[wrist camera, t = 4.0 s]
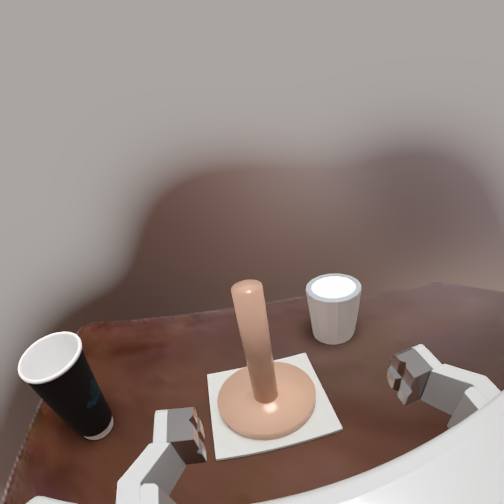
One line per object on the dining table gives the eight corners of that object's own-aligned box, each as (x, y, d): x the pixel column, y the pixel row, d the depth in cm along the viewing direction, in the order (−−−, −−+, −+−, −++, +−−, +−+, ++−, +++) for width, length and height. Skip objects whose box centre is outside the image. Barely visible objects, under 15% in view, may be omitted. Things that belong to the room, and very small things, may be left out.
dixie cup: (136, 430, 26) (89, 358, 21) (80, 461, 21) (19, 393, 17) (111, 391, 31) (72, 322, 27) (62, 417, 27) (16, 350, 22)
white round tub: (297, 334, 38) (293, 289, 36) (329, 310, 42) (328, 267, 39) (338, 355, 33) (340, 308, 30) (368, 326, 37) (371, 281, 34)
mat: (305, 355, 34) (305, 352, 34) (342, 430, 23) (342, 428, 23) (208, 376, 33) (207, 374, 33) (217, 461, 22) (216, 459, 22)
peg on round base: (299, 360, 33) (290, 251, 28) (329, 424, 24) (334, 306, 19) (216, 378, 32) (184, 272, 27) (225, 449, 23) (180, 340, 18)
